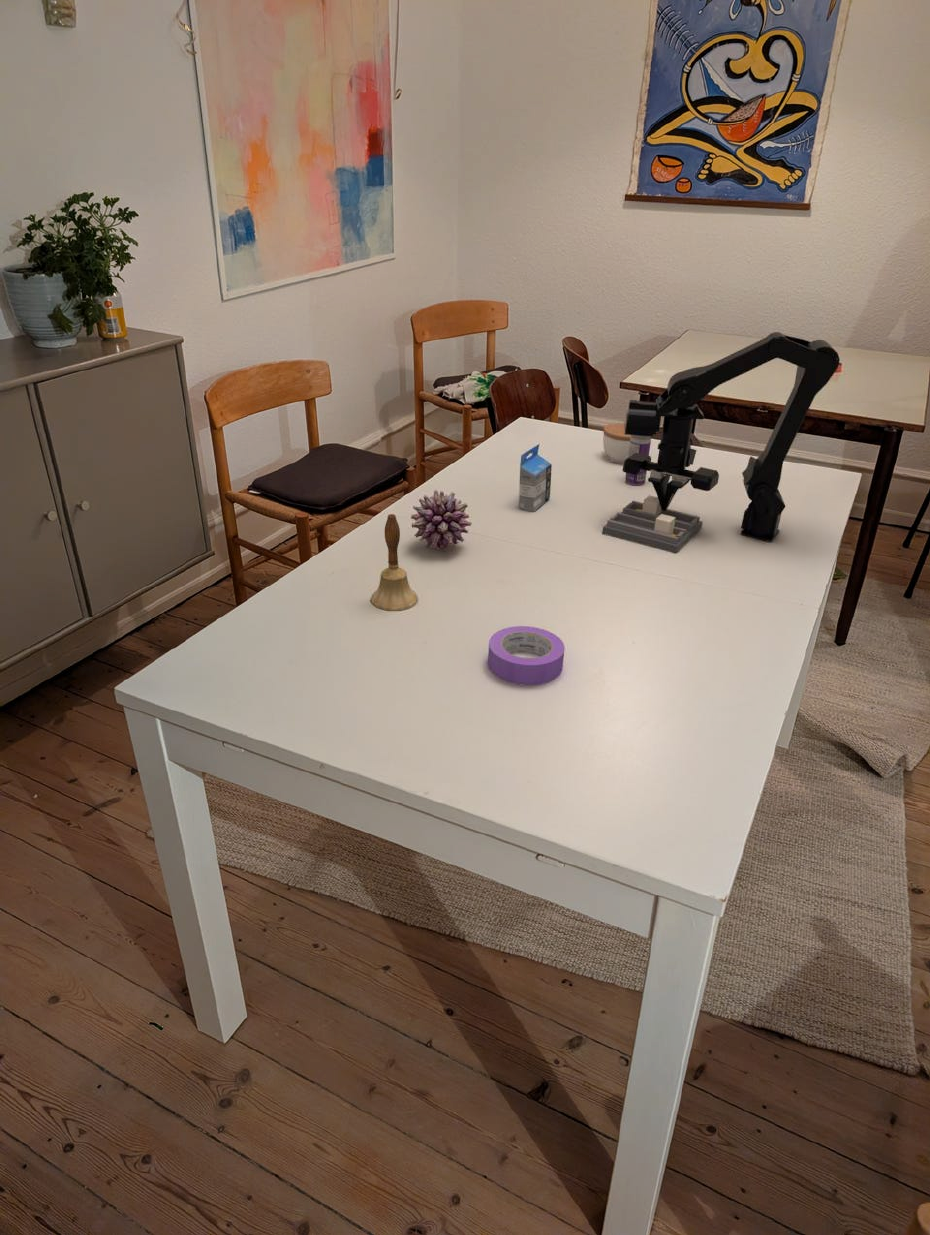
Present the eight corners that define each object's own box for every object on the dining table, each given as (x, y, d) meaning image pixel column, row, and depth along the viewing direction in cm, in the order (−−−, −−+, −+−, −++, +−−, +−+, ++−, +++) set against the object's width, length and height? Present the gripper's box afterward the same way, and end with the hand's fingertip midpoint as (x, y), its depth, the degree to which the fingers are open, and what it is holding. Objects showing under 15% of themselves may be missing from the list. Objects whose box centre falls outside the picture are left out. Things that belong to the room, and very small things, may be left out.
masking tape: (517, 637, 143) (518, 617, 142) (577, 663, 137) (579, 642, 135) (472, 666, 135) (473, 645, 134) (533, 695, 129) (535, 673, 127)
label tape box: (533, 512, 188) (537, 458, 182) (516, 508, 190) (520, 454, 184) (550, 499, 195) (554, 446, 189) (533, 496, 197) (537, 443, 191)
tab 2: (673, 533, 177) (675, 517, 175) (667, 538, 175) (670, 522, 173) (659, 529, 178) (661, 513, 176) (653, 534, 176) (655, 518, 174)
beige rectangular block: (660, 514, 185) (662, 498, 184) (655, 518, 183) (657, 503, 181) (647, 510, 187) (649, 495, 185) (641, 515, 185) (643, 499, 183)
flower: (464, 564, 166) (466, 506, 160) (403, 557, 168) (403, 499, 162) (476, 539, 176) (478, 484, 170) (418, 533, 177) (418, 477, 172)
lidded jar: (592, 455, 222) (596, 419, 217) (627, 450, 226) (632, 414, 221) (615, 469, 213) (620, 431, 209) (651, 463, 218) (657, 427, 213)
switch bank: (701, 528, 184) (703, 516, 182) (676, 553, 173) (678, 540, 171) (630, 510, 191) (632, 498, 190) (602, 533, 180) (603, 521, 179)
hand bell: (375, 613, 149) (373, 527, 141) (366, 591, 155) (364, 507, 148) (422, 608, 151) (423, 523, 143) (412, 586, 158) (412, 504, 150)
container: (644, 479, 208) (652, 417, 200) (645, 486, 204) (654, 423, 196) (624, 478, 208) (632, 416, 201) (625, 485, 204) (633, 422, 197)
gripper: (733, 437, 177) (719, 508, 185) (647, 419, 185) (637, 488, 193) (715, 451, 169) (702, 525, 176) (626, 432, 177) (617, 504, 185)
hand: (664, 510), depth 183 cm, fingers closed
